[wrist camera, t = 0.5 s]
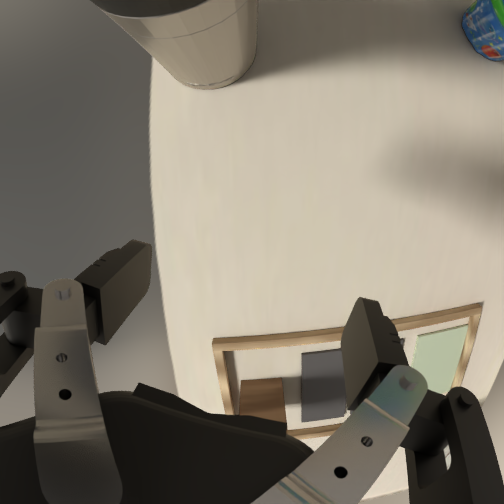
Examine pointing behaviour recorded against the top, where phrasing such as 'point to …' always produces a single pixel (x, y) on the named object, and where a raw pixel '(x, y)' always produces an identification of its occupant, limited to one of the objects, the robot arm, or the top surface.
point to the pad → (439, 356)
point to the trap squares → (323, 385)
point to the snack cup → (486, 28)
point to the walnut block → (263, 399)
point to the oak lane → (335, 335)
